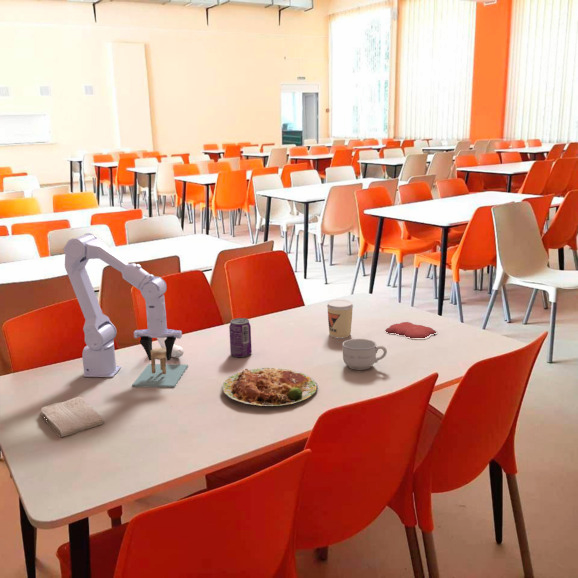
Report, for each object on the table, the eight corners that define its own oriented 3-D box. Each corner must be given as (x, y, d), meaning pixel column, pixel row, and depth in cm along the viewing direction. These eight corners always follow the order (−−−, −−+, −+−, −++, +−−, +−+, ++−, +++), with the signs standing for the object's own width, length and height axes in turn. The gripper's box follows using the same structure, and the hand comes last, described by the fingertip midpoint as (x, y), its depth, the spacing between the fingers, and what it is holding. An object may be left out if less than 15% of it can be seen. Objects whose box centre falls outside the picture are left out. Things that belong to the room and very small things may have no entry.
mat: (132, 386, 186) (132, 384, 185) (149, 365, 201) (148, 363, 201) (174, 387, 184) (174, 385, 184) (188, 366, 200) (188, 364, 200)
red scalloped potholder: (380, 332, 228) (380, 327, 228) (401, 323, 238) (401, 318, 237) (422, 343, 217) (422, 338, 216) (441, 333, 226) (442, 327, 226)
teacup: (336, 369, 195) (336, 345, 193) (350, 357, 204) (350, 335, 202) (378, 377, 188) (379, 352, 186) (390, 364, 198) (391, 341, 196)
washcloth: (80, 402, 177) (79, 392, 176) (106, 425, 163) (105, 414, 163) (38, 415, 170) (36, 405, 169) (61, 440, 156) (60, 429, 155)
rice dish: (296, 369, 199) (296, 353, 198) (332, 400, 174) (332, 382, 173) (212, 383, 190) (210, 367, 188) (237, 419, 164) (236, 400, 163)
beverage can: (253, 350, 212) (251, 317, 209) (249, 358, 205) (248, 324, 202) (232, 350, 213) (231, 317, 209) (228, 358, 206) (227, 324, 202)
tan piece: (149, 374, 190) (147, 353, 188) (155, 367, 195) (154, 347, 193) (165, 376, 189) (164, 354, 187) (171, 369, 194) (170, 348, 192)
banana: (178, 366, 200) (175, 323, 196) (152, 349, 215) (148, 309, 211) (191, 362, 203) (188, 320, 199) (165, 346, 218) (161, 306, 214)
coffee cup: (322, 332, 228) (322, 301, 225) (344, 328, 232) (344, 298, 228) (334, 340, 220) (334, 308, 217) (357, 336, 224) (357, 304, 220)
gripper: (128, 321, 184) (132, 363, 188) (176, 322, 183) (179, 364, 187) (136, 314, 191) (140, 355, 195) (182, 314, 190) (185, 356, 193)
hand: (159, 359), depth 191 cm, fingers closed on tan piece, 5 cm apart
